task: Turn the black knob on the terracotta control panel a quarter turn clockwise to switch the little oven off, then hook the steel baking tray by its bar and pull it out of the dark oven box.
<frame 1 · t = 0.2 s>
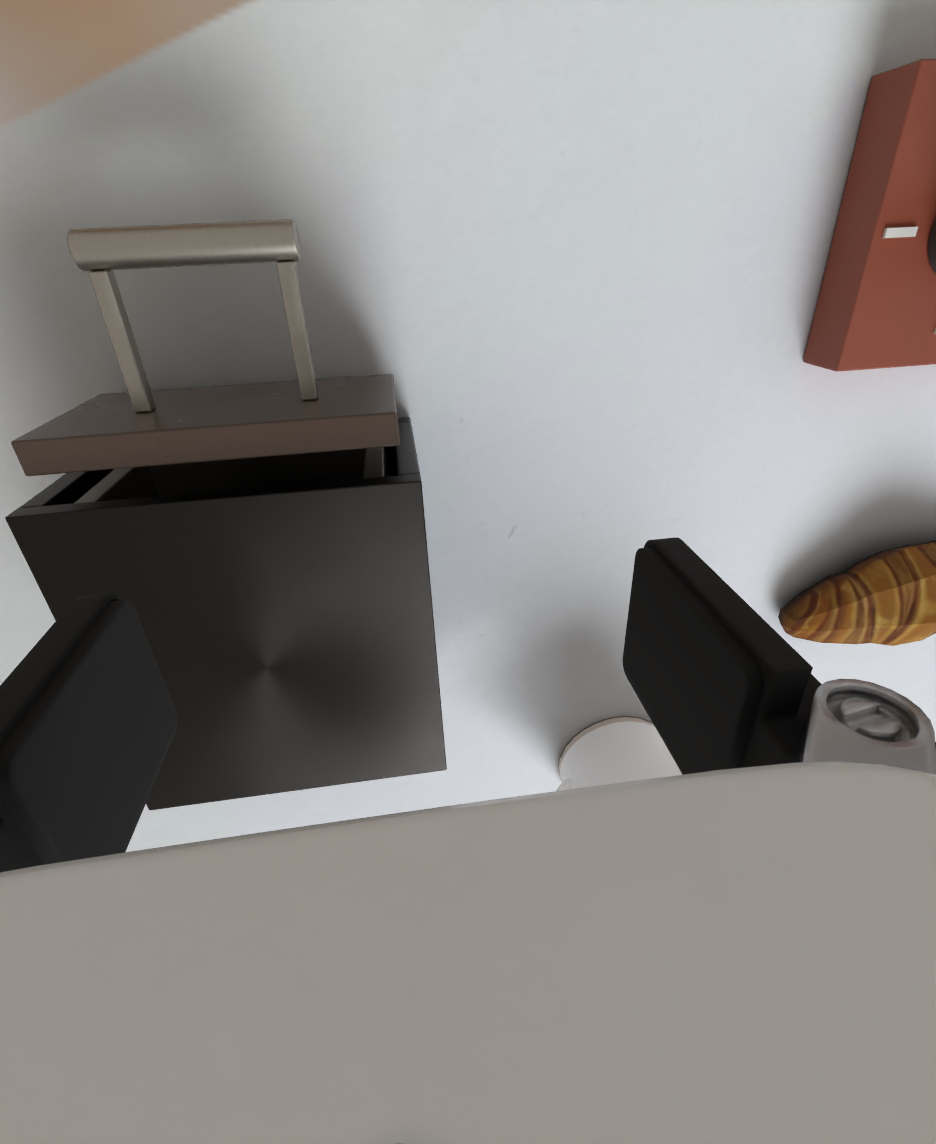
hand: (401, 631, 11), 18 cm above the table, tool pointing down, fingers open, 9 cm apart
control panel: (924, 229, 26), on the table
oven: (294, 564, 30), on the table
mug: (597, 754, 41), on the table
tray: (255, 495, 24), point 4 cm above the table, slide at 1.0 cm
croissant: (871, 575, 36), on the table
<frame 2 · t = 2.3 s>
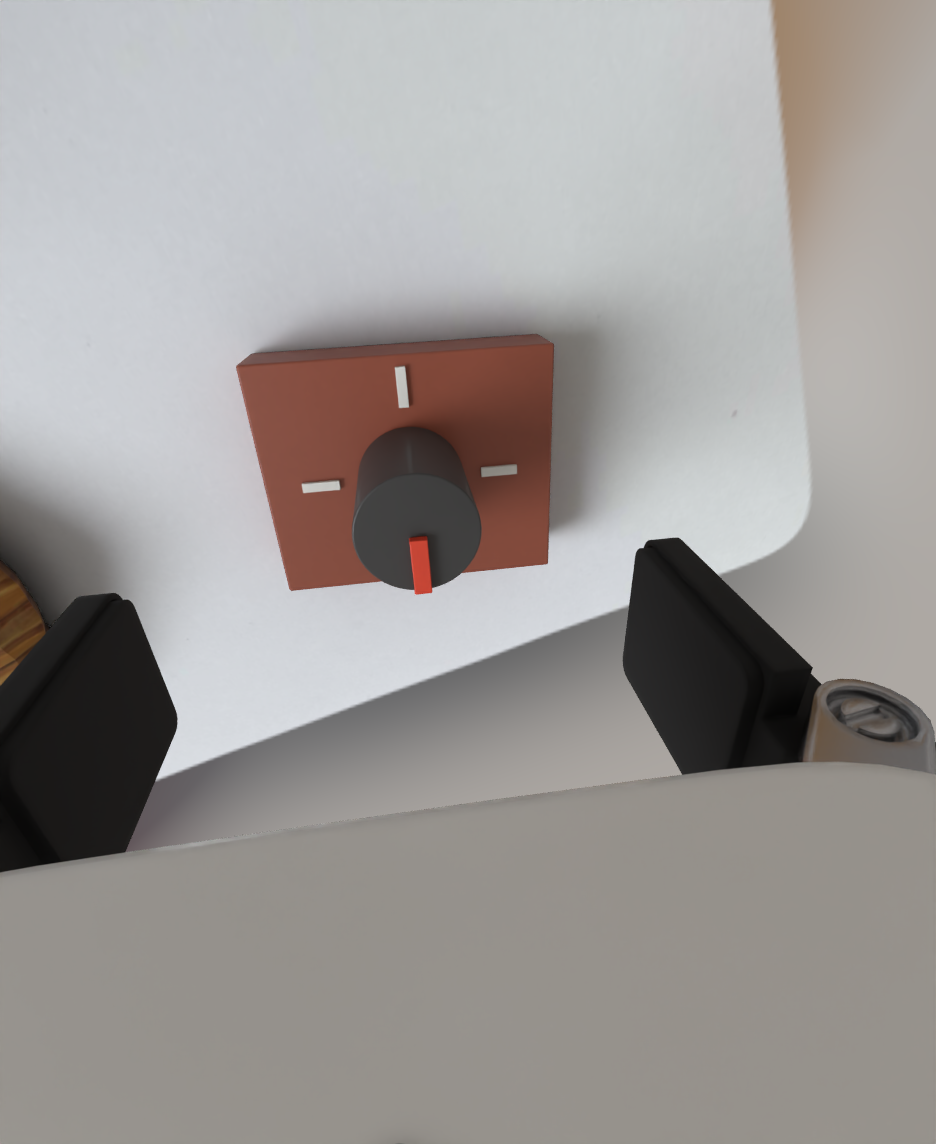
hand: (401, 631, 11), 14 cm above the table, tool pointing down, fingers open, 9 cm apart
control panel: (408, 456, 24), on the table
knob: (414, 505, 20), point 5 cm above the table, hinge at 90.0°
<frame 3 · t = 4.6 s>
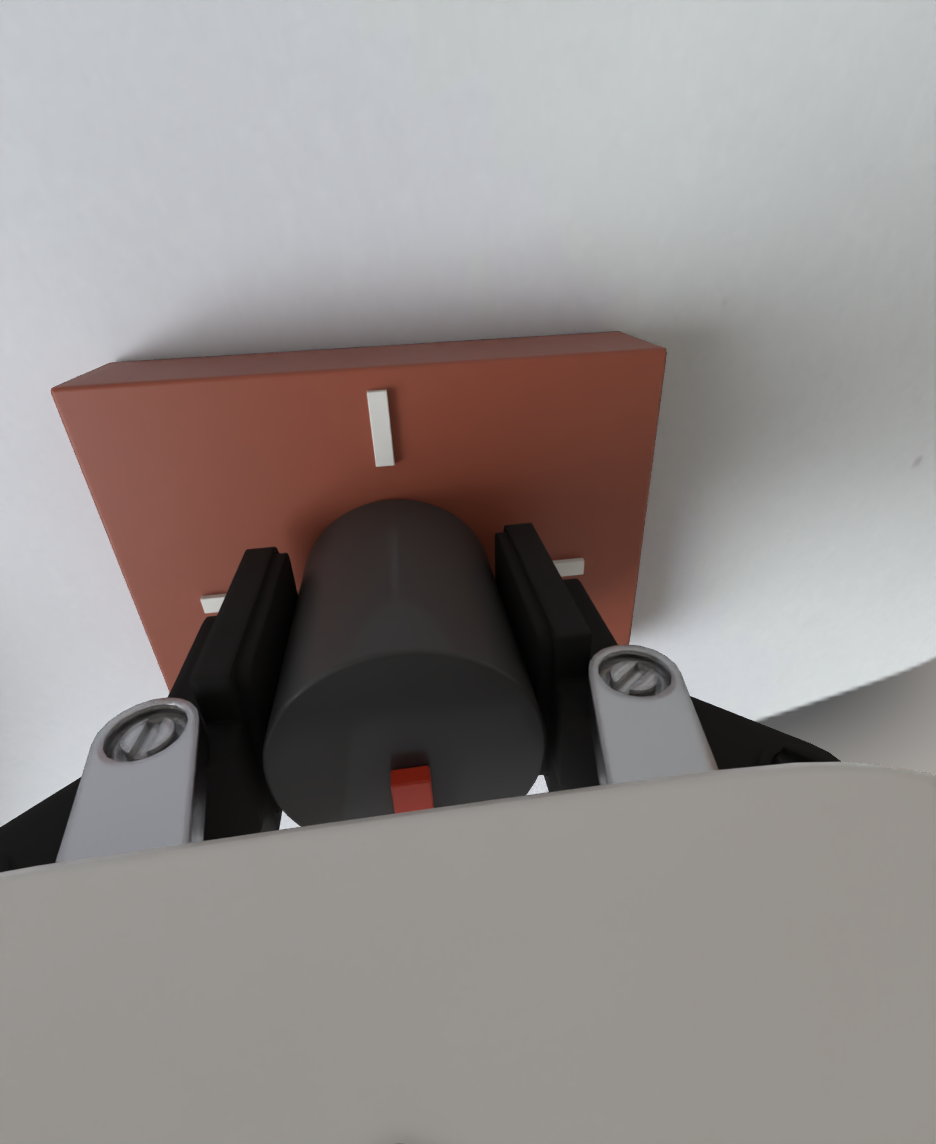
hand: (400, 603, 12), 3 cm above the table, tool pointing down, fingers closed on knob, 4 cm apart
control panel: (396, 533, 15), on the table
knob: (403, 660, 10), point 5 cm above the table, hinge at 89.9°, touching gripper
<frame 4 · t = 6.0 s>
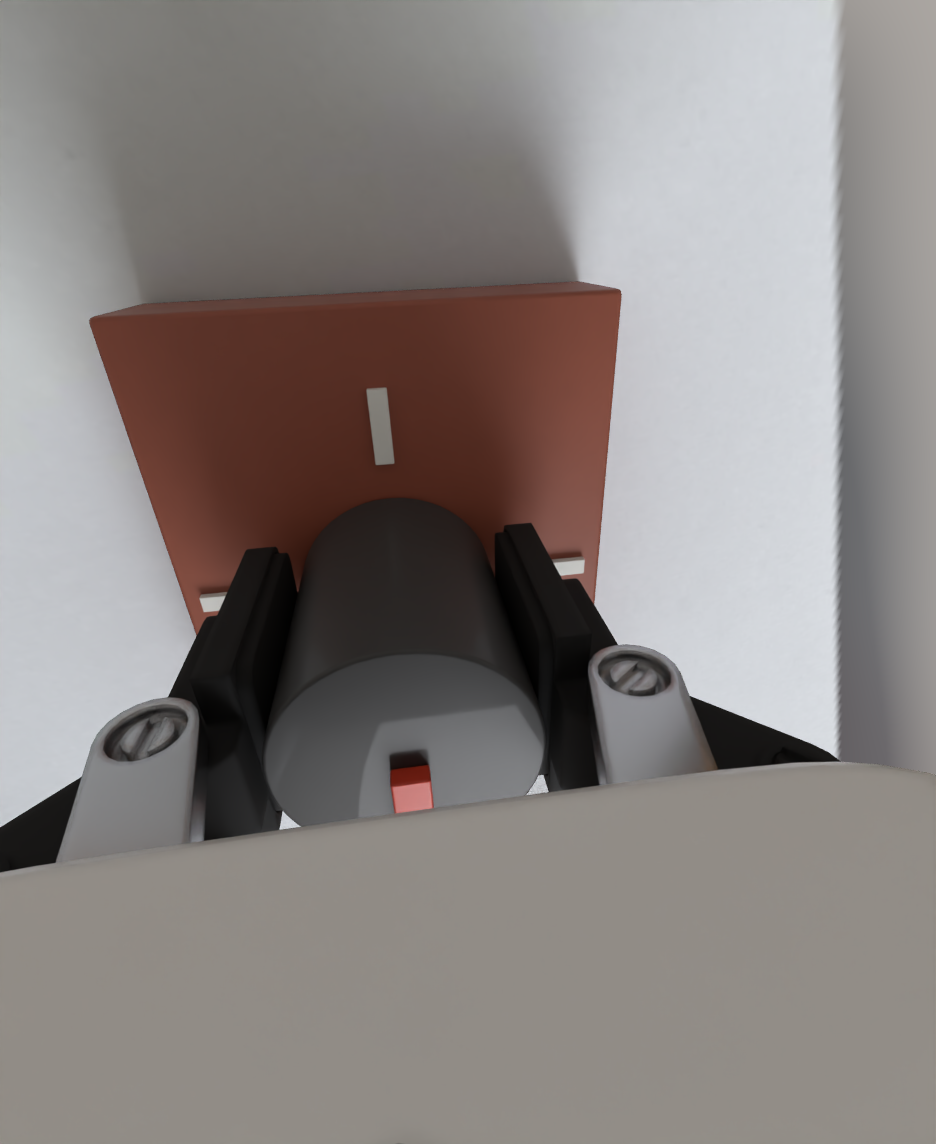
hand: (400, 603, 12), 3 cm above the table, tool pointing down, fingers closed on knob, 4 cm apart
control panel: (395, 531, 15), on the table
knob: (403, 659, 10), point 5 cm above the table, hinge at -0.2°, touching gripper
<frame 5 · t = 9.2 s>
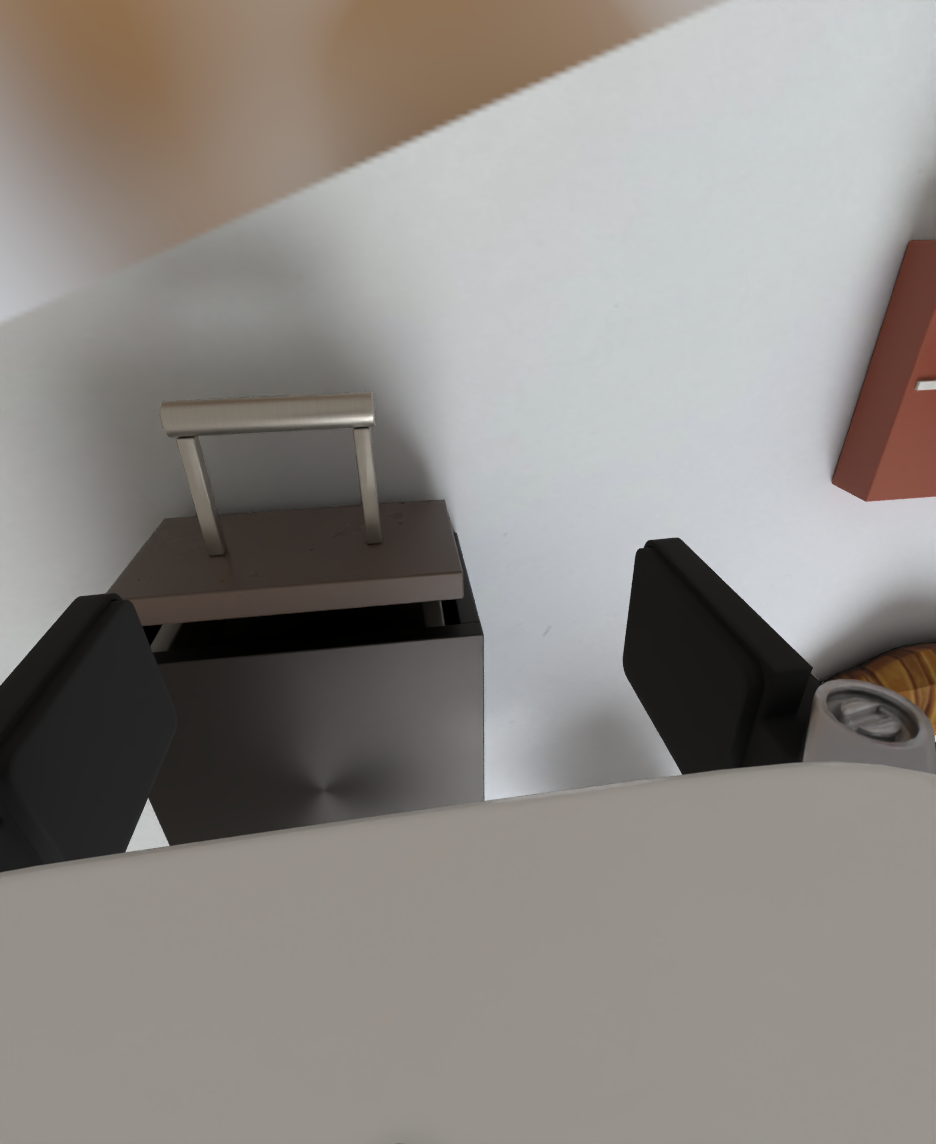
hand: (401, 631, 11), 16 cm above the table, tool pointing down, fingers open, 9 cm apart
oven: (337, 661, 31), on the table
tray: (313, 621, 25), point 4 cm above the table, slide at 1.0 cm
croissant: (885, 667, 38), on the table
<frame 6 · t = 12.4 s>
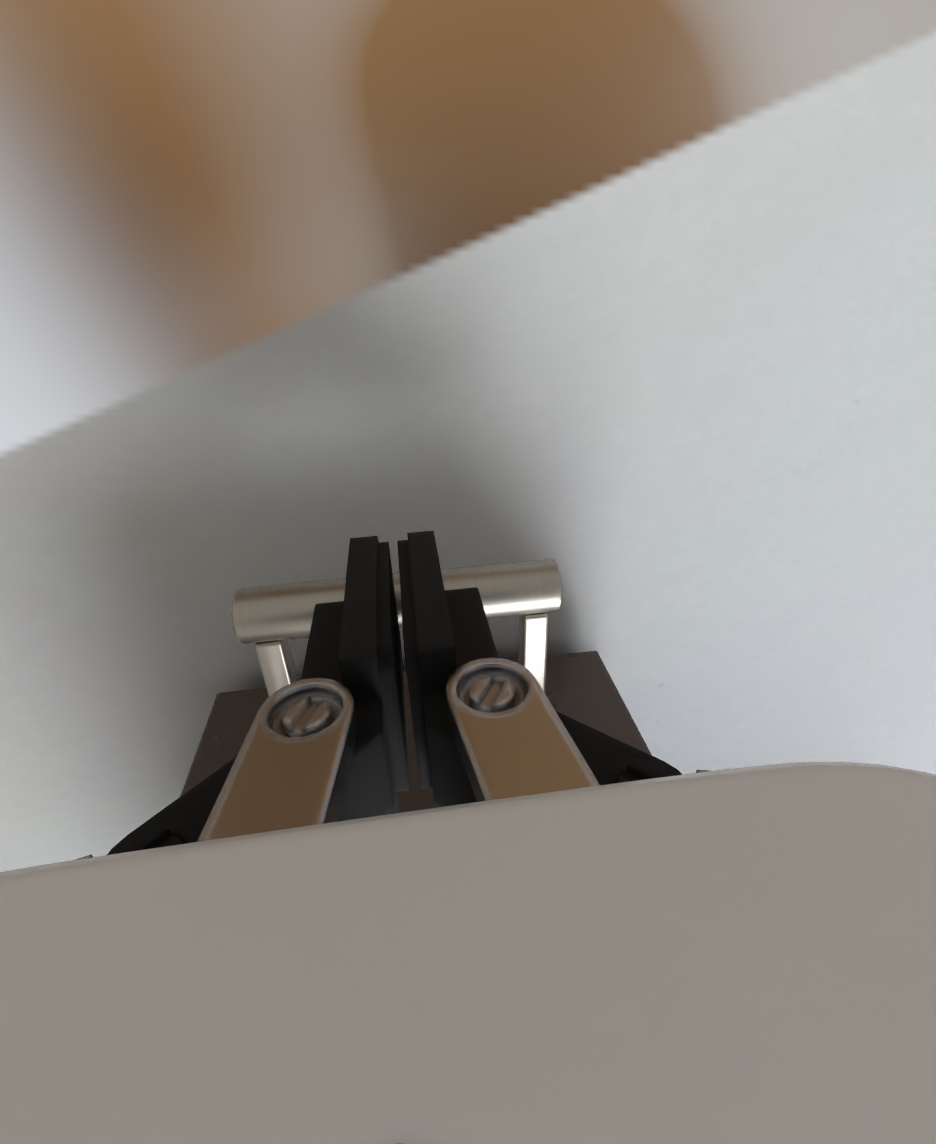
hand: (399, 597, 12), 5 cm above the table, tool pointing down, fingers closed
tray: (428, 837, 18), point 4 cm above the table, slide at 1.3 cm, touching gripper
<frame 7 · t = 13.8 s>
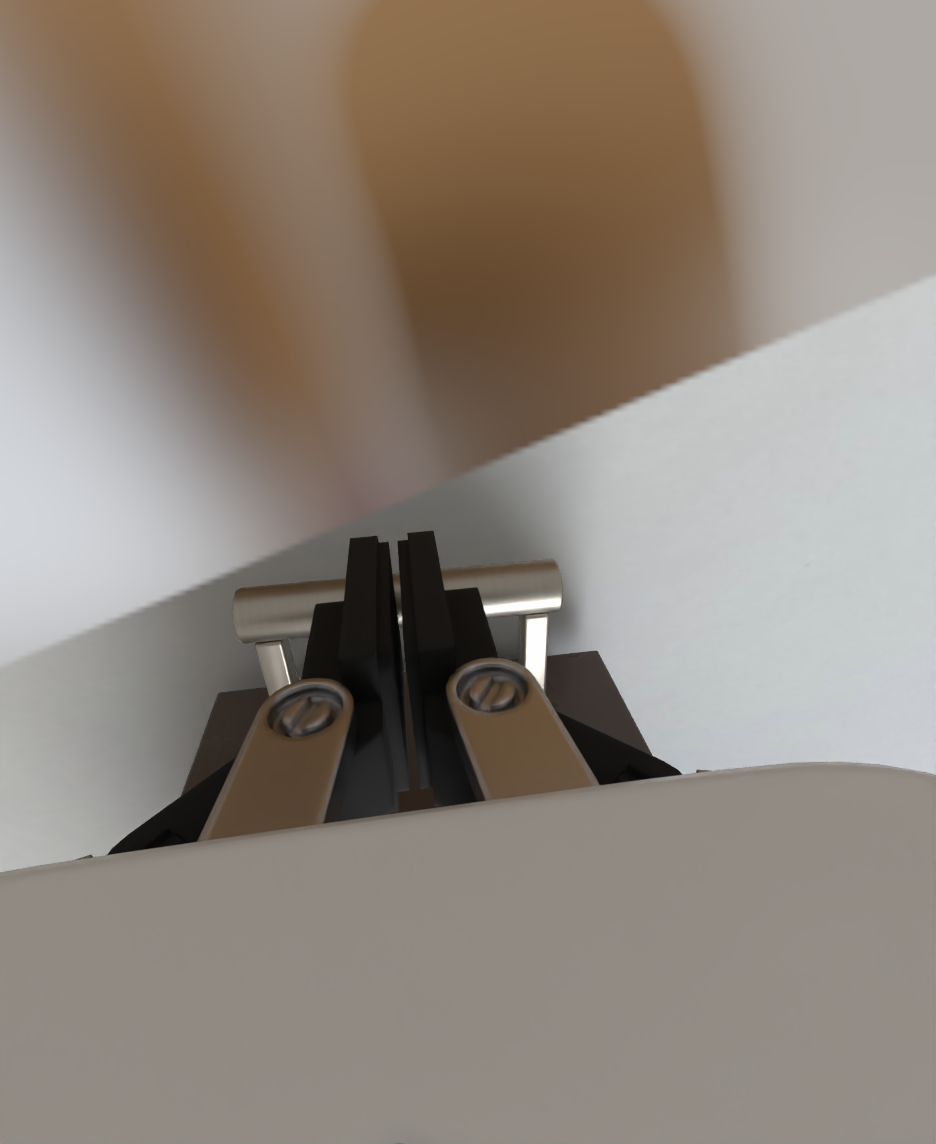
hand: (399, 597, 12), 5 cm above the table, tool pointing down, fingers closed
tray: (429, 837, 18), point 4 cm above the table, slide at 6.9 cm, touching gripper
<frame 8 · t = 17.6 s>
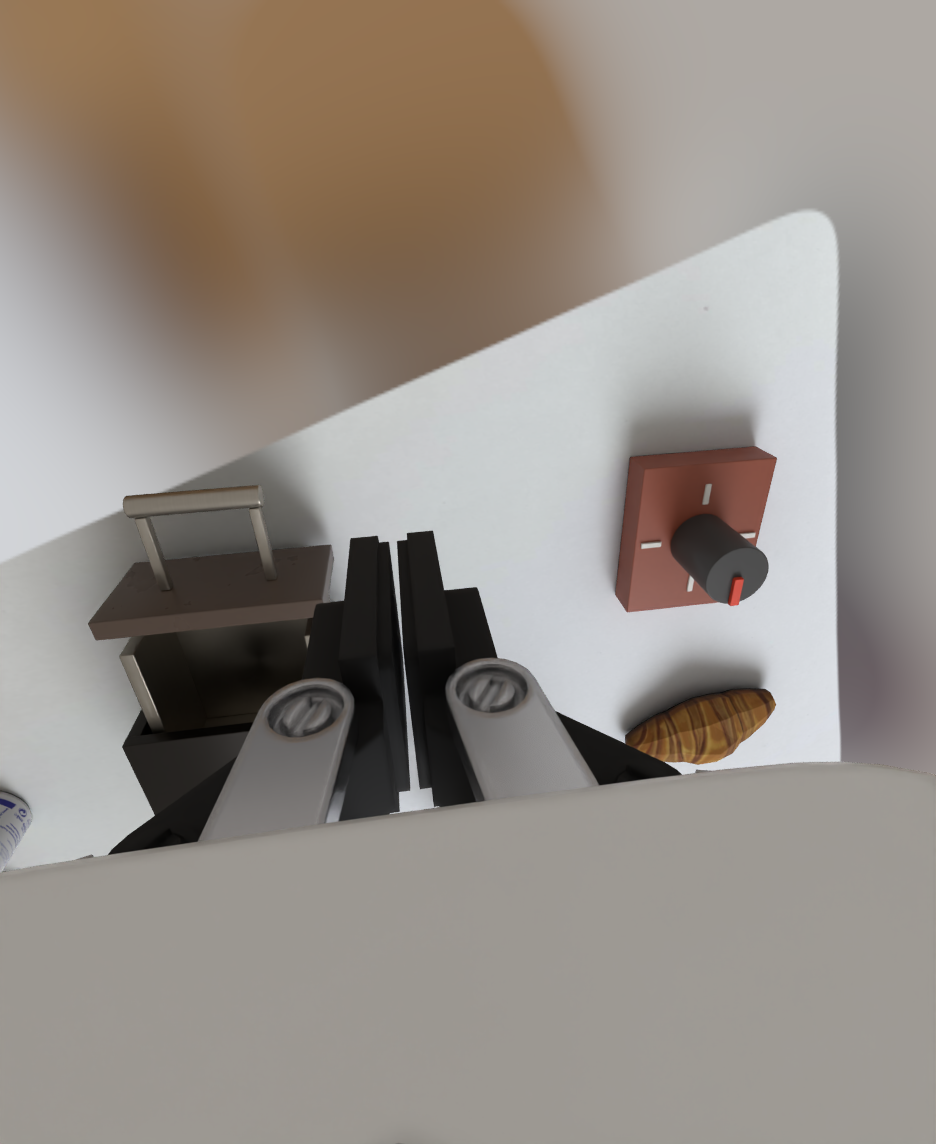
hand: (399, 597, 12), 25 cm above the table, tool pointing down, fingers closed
control panel: (681, 524, 41), on the table
oven: (284, 719, 45), on the table
knob: (717, 558, 37), point 5 cm above the table, hinge at 1.1°
tray: (237, 631, 36), point 4 cm above the table, slide at 7.0 cm
croissant: (691, 710, 51), on the table
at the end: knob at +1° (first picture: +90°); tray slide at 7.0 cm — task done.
